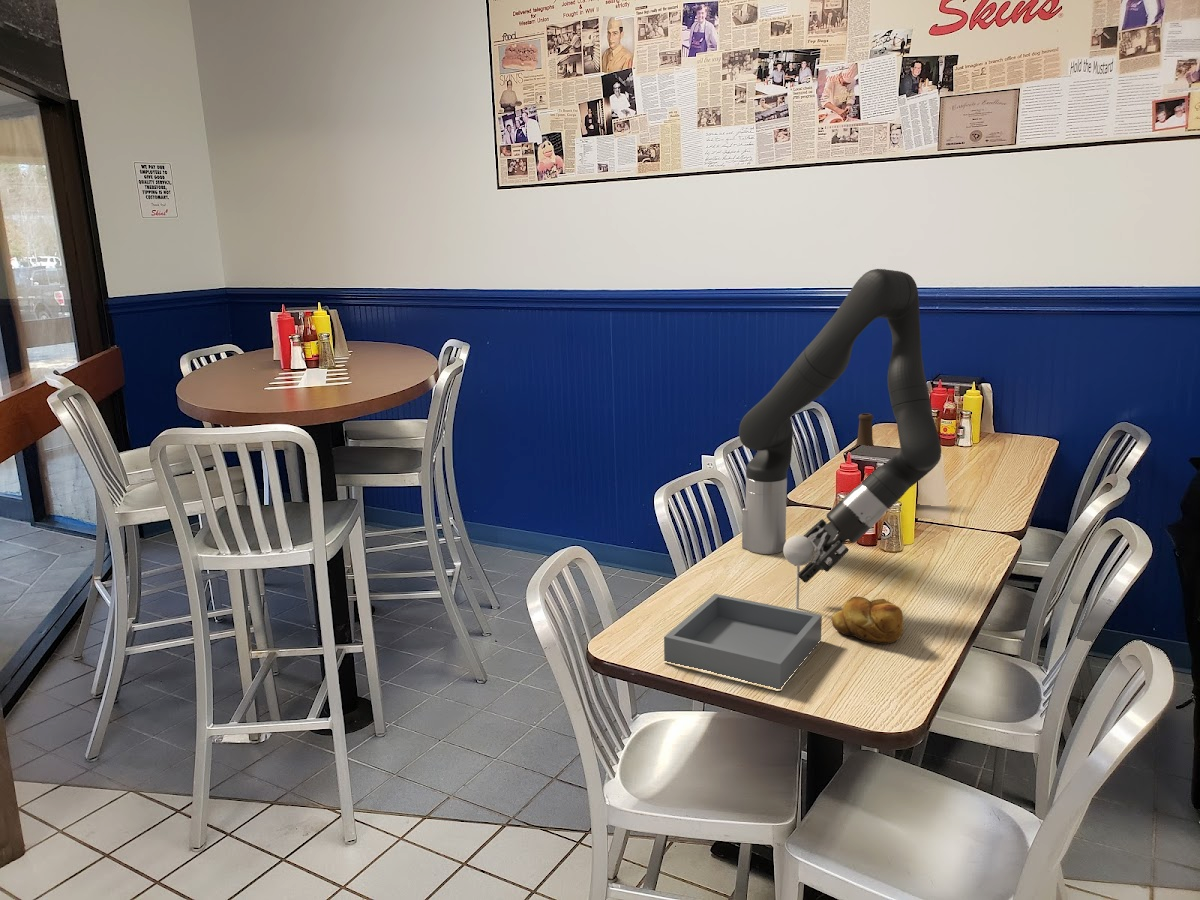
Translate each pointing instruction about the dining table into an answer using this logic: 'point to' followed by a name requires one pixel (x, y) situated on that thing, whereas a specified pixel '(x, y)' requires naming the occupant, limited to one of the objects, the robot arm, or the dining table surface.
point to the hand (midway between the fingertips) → (796, 570)
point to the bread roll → (870, 620)
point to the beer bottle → (865, 430)
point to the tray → (744, 640)
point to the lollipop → (798, 555)
